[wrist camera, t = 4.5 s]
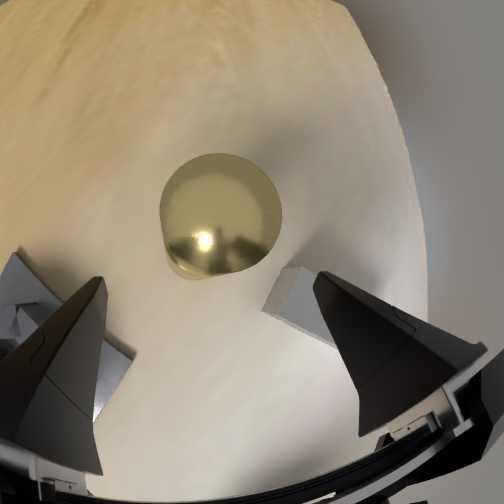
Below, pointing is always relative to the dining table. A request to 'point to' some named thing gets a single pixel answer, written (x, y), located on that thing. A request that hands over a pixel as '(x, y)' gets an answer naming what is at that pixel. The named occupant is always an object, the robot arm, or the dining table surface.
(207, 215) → the pale yellow tall bar
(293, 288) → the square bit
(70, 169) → the dining table surface
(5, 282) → the socket block
